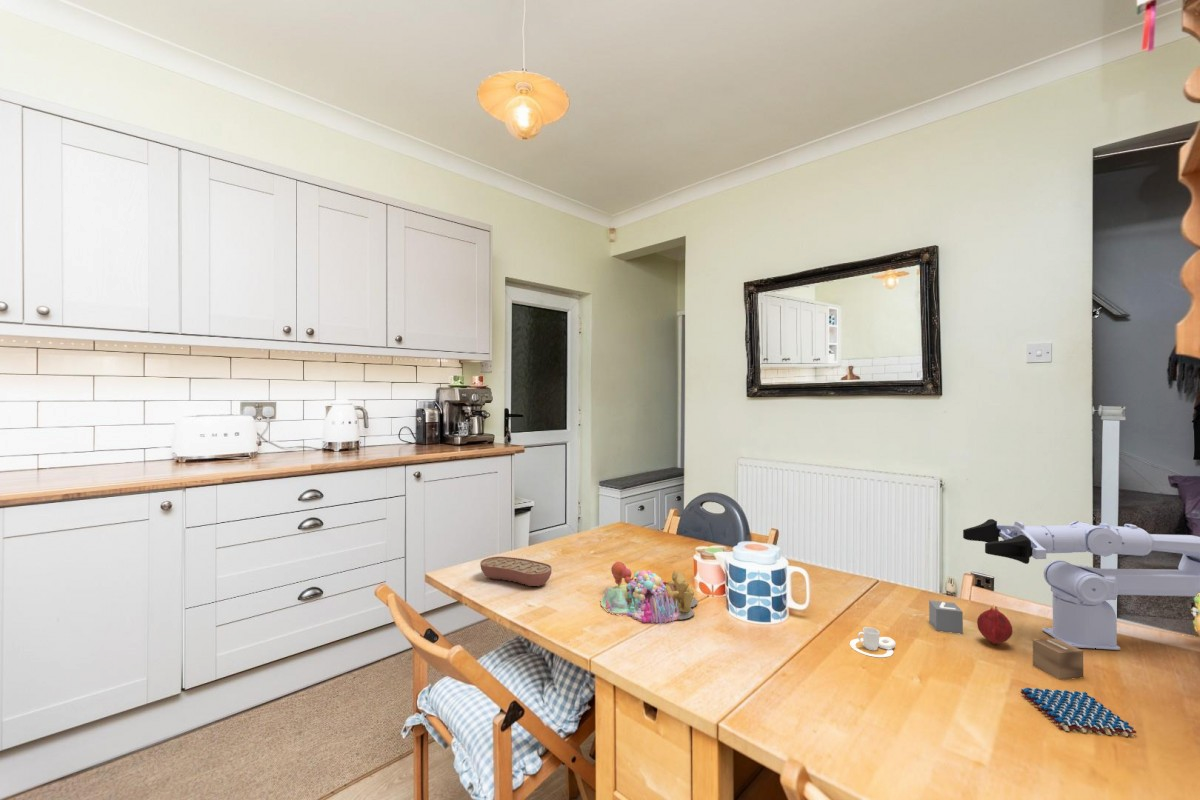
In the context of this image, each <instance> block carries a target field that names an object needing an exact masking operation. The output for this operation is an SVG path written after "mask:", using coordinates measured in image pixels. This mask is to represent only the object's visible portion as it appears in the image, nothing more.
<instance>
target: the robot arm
mask: <svg viewBox="0 0 1200 800" xmlns="http://www.w3.org/2000/svg"><path fill="white" fill-rule="evenodd" d="M962 538H963V540H966V541H973V542H982V543H983V542H984V553H985V554H987V555H992V556H996V557H1002V558H1007V559H1008V558H1009V559H1011V560H1014V561H1018V562H1020V563H1023V564H1024V565H1025V564H1027V565H1028V564H1029V563H1030V559H1031V558H1033V559H1035V560H1047V554H1070V553H1071V554H1072V553H1087V552H1088V553H1091V554H1094V555H1096V556H1097V555H1098V556H1101V557H1103V558H1104V557H1109V556H1112V555H1113V554H1115V555H1127V556H1141V557H1142V556H1147V555H1149V554H1150V553H1151V552H1152V551H1154V552H1165V553H1173V554H1174V553H1176V554H1182V556H1181V559H1180V561H1179V565H1178V566H1177V568H1178V569H1167V568H1165V569H1162V568H1161V569H1160V568H1159V569H1157V568H1156V569H1155V568H1154V569H1153V568H1152V569H1151V568H1098V567H1092V566H1088V565H1082V564H1072V563H1070V562H1067V561H1066V560H1061V559H1059V560H1053V561H1051V562H1048V564H1047V565H1046V566H1045V567H1044V569H1043V578H1044V580H1045V582H1046V583H1047V584H1048V586H1050V591H1051V592H1052V627H1051V628H1050V627H1042V628H1041V630H1042V631H1043V632H1044V633H1046V634H1048V635H1049V636H1051V638H1053V639H1054V638H1056V639H1058V640H1060V641H1062V642H1065V643H1067V644H1069V645H1071V646H1073V647H1075V648H1078V649H1081V648H1082V649H1095V648H1096V649H1099V650H1113V651H1115V650H1116V651H1120V650H1121V647H1120V646H1119V645H1118V643H1117V642H1118V636H1117V635H1118V633H1117V632H1118V630H1117V628H1118V626H1117V625H1118V624H1117V623H1118V620H1117V614H1116V612H1115V609H1114V608H1113V607H1112V605H1111V604H1110V603H1109V602H1108V601H1115V600H1117V599H1118V595H1119V596H1156V597H1157V596H1163V597H1167V596H1168V597H1170V596H1171V597H1200V596H1199V595H1198V596H1197V594H1198V593H1200V536H1198V535H1192V534H1159V533H1157V534H1156V533H1154V534H1153V533H1152V534H1151V533H1149V532H1147V531H1146V530H1145V529H1143V528H1141V527H1138V526H1137V525H1135V524H1132V523H1125V524H1124V525H1123V526H1121V525H1120V526H1118V525H1117V526H1115V525H1110V524H1108V523H1105V522H1100V523H1099V525H1094V524H1091V523H1086V522H1081V521H1079V520H1076V521H1071V522H1070V523H1068V524H1067V525H1064V524H1061V525H1059V524H1054V525H1025V524H1024V522H1021V521H1020V520H1016V521H1015V522H1014V525H1011V524H1010V525H1009V524H1006V525H1005V524H1000V523H998V520H996V519H993V518H989V519H987V520H986V521H985V522H982V523H981V524H979V525H976V526H971V527H968V528H965V529H963V530H962ZM999 538H1002V540H999Z"/></svg>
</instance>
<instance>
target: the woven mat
mask: <svg viewBox="0 0 1200 800" xmlns="http://www.w3.org/2000/svg"><path fill="white" fill-rule="evenodd" d="M1020 694H1022V696H1023V698H1024V699H1026V700H1028V701H1029V702H1030V703H1031V704H1032V705H1033V706H1035V707H1036V709H1037V710H1038V711H1040V712H1042V714H1044V715H1045V717H1047V718H1048V719H1050V721H1052V722H1053V723H1054V724H1055V725H1056V726H1057V727H1058V728H1059V729H1060V730H1062V731H1064V732H1070V730H1071V731H1072V732H1073V733H1078V731H1079V732H1080V733H1081V734H1085V733H1089V734H1093V733H1096V734H1097V735H1098V736H1105V734H1106V735H1107V736H1112V735H1113V736H1119V735H1118V734H1120V736H1121V737H1128V736H1129V737H1130V738H1136V736H1135V735H1134V734H1137V730H1135V729H1134V727H1133V726H1131V725H1129V724H1130V723H1129V722H1128V721H1125V720H1123V719H1121V717H1120V716H1119V715H1118V714H1117V715H1116V714H1115V713H1114V712H1113V711H1112V710H1111V709H1110V708H1106V707H1105V706H1104V704H1103V703H1100V702H1098V701H1096V698H1094V697H1091V696H1090V695H1089V694H1088V692H1086V691H1085V692H1081V691H1077V690H1074V691H1072V690H1066V689H1065V690H1064V689H1054V690H1053V689H1048V688H1045V689H1044V688H1038V687H1036V688H1034V687H1029V686H1028V687H1025V688H1021V689H1020ZM1093 731H1094V732H1093Z"/></svg>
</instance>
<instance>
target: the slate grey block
mask: <svg viewBox="0 0 1200 800" xmlns="http://www.w3.org/2000/svg"><path fill="white" fill-rule="evenodd" d="M928 604H929V605H928V609H929V610H928V612H929V613H928V615H929V617H928V618H929V620H928V621H929V623H930V625H931V626H932V627H933V628H935V629H934V630H935V631H936V632H940V631H943V632H942V633H949V632H952V634H957V633H960V634H959V635H963V634H964V631H963V630H964V629H963V628H964V625H963V624H964V620H963V618H964V616H963V615H964V613H963V612H964V611H962V609H961V608H960V606H958V605H957V604H956V603H955V602H951V601H950V602H948V601H941V600H940V601H939V600H938V601H937V600H929V601H928Z"/></svg>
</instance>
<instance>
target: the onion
mask: <svg viewBox="0 0 1200 800" xmlns="http://www.w3.org/2000/svg"><path fill="white" fill-rule="evenodd" d="M976 624H977V629H978V631H979V632H980V635H982V636H983V637H984V638H985V639H986V640H987V641H988V642H990V643H991V644H993V645H999V644H1001V643H1005V642H1007V641H1008V640H1009V639H1010V638H1011V637H1012V635H1013V627H1012V623H1011V622H1010V620H1009V619H1008V617H1007V616H1006V615H1005V614H1004V613H1002V612H1001V611H999V609H998V607H997V606H996V605H995V604H993V605H991V606H990V609H988V610H987V609H986V610H985V611H983V612H981V613H980V614H979V616H978V618H977V621H976Z"/></svg>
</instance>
